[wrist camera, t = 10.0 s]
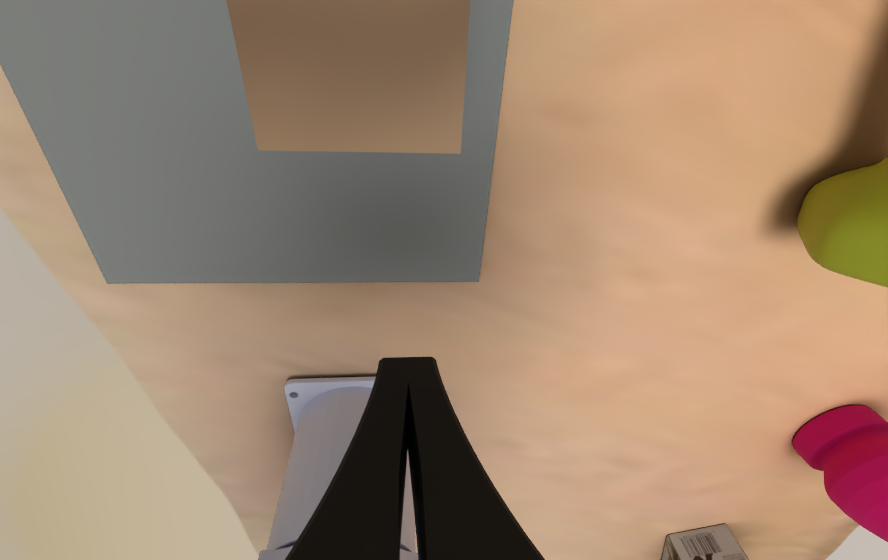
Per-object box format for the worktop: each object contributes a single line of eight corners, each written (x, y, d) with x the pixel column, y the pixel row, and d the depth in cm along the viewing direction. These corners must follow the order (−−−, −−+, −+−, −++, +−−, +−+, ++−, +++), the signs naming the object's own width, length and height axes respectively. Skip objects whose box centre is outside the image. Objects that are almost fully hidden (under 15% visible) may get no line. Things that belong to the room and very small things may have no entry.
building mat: (477, 277, 21) (478, 281, 21) (112, 278, 19) (107, 283, 19) (523, -105, 13) (526, -109, 13) (-100, -168, 11) (-115, -174, 11)
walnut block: (443, 113, 13) (460, 153, 9) (300, 109, 13) (257, 150, 9) (449, -68, 11) (477, -115, 7) (272, -82, 10) (197, -137, 6)
